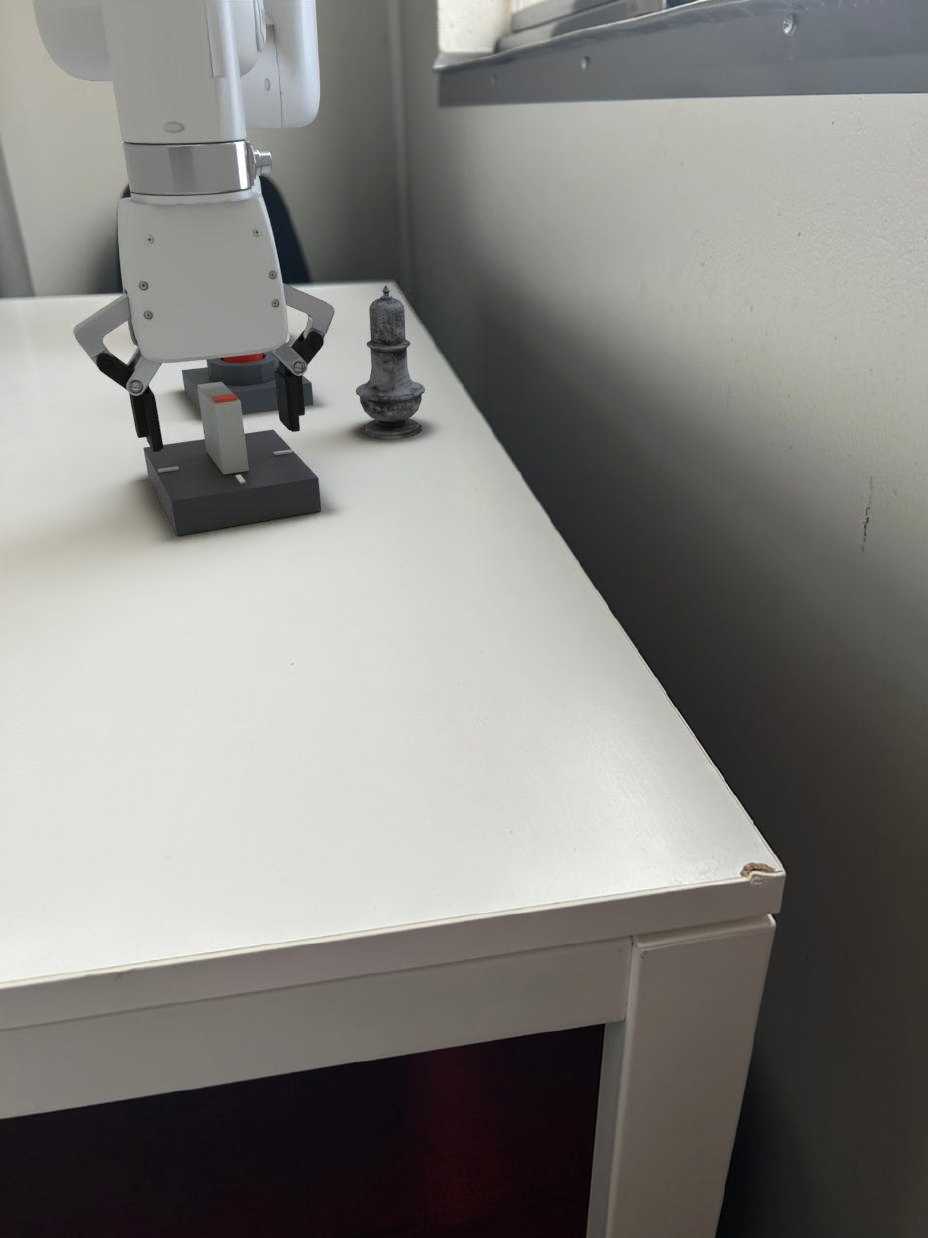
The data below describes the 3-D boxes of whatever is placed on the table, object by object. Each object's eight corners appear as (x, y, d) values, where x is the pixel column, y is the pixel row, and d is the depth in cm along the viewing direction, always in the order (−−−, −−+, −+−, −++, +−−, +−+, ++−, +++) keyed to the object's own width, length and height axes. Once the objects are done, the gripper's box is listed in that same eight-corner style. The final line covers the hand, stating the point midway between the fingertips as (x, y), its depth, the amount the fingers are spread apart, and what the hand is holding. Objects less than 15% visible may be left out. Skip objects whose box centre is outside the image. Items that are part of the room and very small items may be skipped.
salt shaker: (417, 442, 82) (412, 293, 76) (349, 438, 83) (339, 291, 77) (433, 421, 87) (429, 280, 81) (369, 418, 88) (361, 278, 82)
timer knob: (206, 451, 73) (196, 381, 70) (230, 448, 73) (221, 378, 71) (223, 475, 68) (213, 400, 66) (249, 471, 69) (240, 397, 67)
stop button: (220, 358, 93) (217, 339, 92) (257, 354, 94) (255, 335, 93) (228, 367, 90) (226, 348, 89) (267, 362, 91) (265, 343, 91)
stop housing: (184, 392, 96) (178, 351, 94) (284, 380, 100) (281, 340, 98) (205, 420, 88) (199, 375, 86) (313, 405, 92) (310, 362, 90)
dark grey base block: (148, 478, 75) (142, 445, 74) (276, 459, 79) (273, 427, 77) (177, 536, 66) (170, 498, 64) (321, 511, 69) (318, 475, 68)
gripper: (305, 163, 68) (324, 406, 76) (39, 175, 62) (91, 437, 70) (339, 172, 62) (356, 434, 70) (48, 185, 56) (104, 471, 64)
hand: (224, 435), depth 70 cm, fingers open, 9 cm apart
